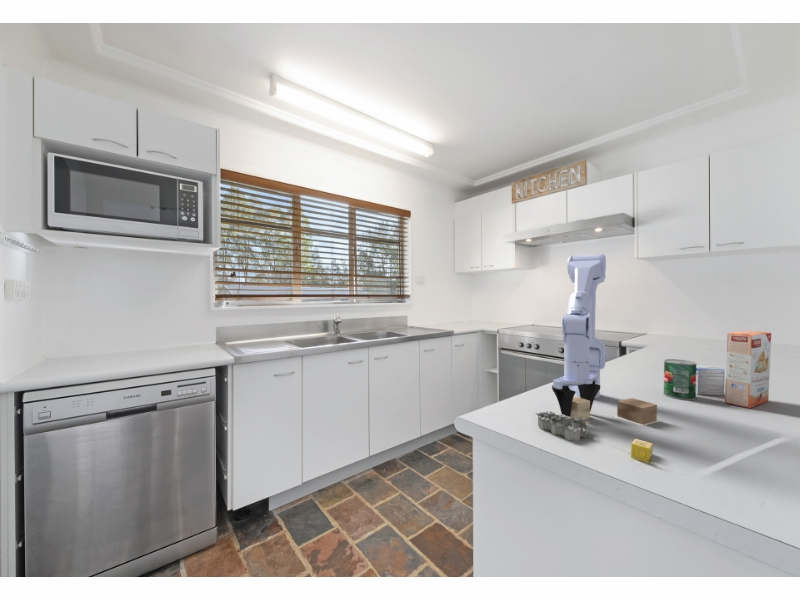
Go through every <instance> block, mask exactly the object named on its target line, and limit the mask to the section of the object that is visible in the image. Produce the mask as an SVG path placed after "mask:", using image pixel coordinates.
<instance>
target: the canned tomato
mask: <svg viewBox="0 0 800 600" xmlns="http://www.w3.org/2000/svg"><path fill="white" fill-rule="evenodd" d="M663 361H664V363H663V364H664V365H663V367H664V368H663V392H662V393H663V395H664V396H665V395H666V396H665V397H668V398H671V397H672V398H671V399H675V398H677V400H682V399H684V400H683V401H695V400H696V399H697V397H696V366H697V362H695V361H691V360H685V359H674V358H673V359H672V358H671V359H669V358H668V359H664V360H663ZM694 399H695V400H694Z"/></svg>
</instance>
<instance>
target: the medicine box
mask: <svg viewBox="0 0 800 600" xmlns="http://www.w3.org/2000/svg"><path fill="white" fill-rule="evenodd" d="M725 377H726V368H723V367H719V366H715V365H696V395H697V396H725Z"/></svg>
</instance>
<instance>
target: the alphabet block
mask: <svg viewBox="0 0 800 600" xmlns="http://www.w3.org/2000/svg"><path fill="white" fill-rule="evenodd" d="M653 446H654V445H653V443H652V442H648V441H645V440H641V439H638V438H634V439H633V441H632V443H631V444H630V448H631V449H630V458H631V459H634V460H637V461H641V462H645V463H647V464H649V463H650V462H651V457H652V455H653V452H654V451H653V450H654V449H653V448H654V447H653Z"/></svg>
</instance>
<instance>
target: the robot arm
mask: <svg viewBox="0 0 800 600" xmlns="http://www.w3.org/2000/svg"><path fill="white" fill-rule="evenodd" d="M566 264H567V267H566V268H567V274H568V276H569V279H570V281H571V283H573V284H574V289H573V291H574V292H572V293H570V295H569V297H568V303H567V308H566V315H564V316H562V318H561V332H562V342H563V343H564V348H563V349H564V350H563V351H564V353H563V355H564V358H563V359H564V360H563V361H564V362H563V364H564V365H563V373H564V375H563V376H561V377H559V378H556V379H553V381H552V382H553V384H552V386H551V390H552V392H553V393H554V396H555V397H556V399H557V402H558V405H559V409H560V413H561V414H560V415H564V416H567V417H569V416H570V415H571V407H572V401H573V397H574V396H576V397H579V398H582V399H586V400H589V401H590V412H591V411H592V407H593V404H594V401H595V399H599V398H600V397H601V396H600V395H601V370H603V369H604V368H605V367H606V359H607V358H606V345H605V344H604V343H605V342H604V341H603V342H602V341H601V340H600V339H599V338H597V337H596V305H597V303H596V299H597V298H596V297H597V296H596V295H597V294H596V292H597V288H598V286H599V284H602V283H604V282H605V279H606V271H607V269H606V268H607V258H606V255H605V254H604V253H602V254H591V255H574V256H573V255H570V256H569V257H568V258H567V262H566Z"/></svg>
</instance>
